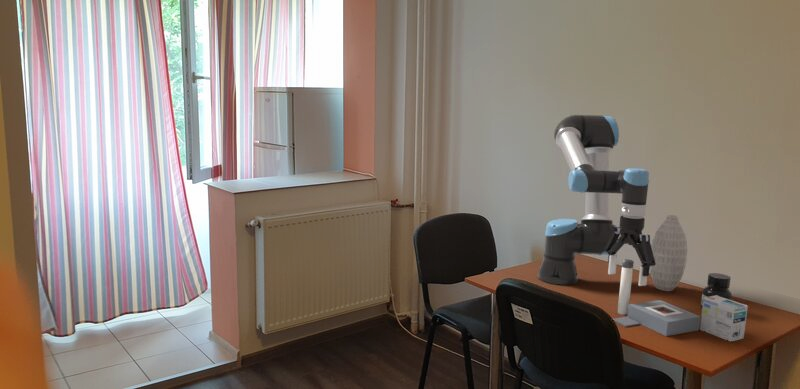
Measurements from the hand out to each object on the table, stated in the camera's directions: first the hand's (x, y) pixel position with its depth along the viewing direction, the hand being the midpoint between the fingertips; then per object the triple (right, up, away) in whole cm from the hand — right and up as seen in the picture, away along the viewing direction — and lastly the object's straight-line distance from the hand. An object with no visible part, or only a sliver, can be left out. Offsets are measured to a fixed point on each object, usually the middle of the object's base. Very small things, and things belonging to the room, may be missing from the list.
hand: (626, 279), depth 205 cm
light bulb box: (+24, -15, -13) cm, 32 cm away
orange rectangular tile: (+9, -11, -7) cm, 16 cm away
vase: (+25, -8, +30) cm, 40 cm away
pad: (-3, -13, -6) cm, 14 cm away
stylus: (0, -11, +2) cm, 12 cm away
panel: (+9, -13, -6) cm, 17 cm away
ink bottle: (+34, -12, +9) cm, 37 cm away
